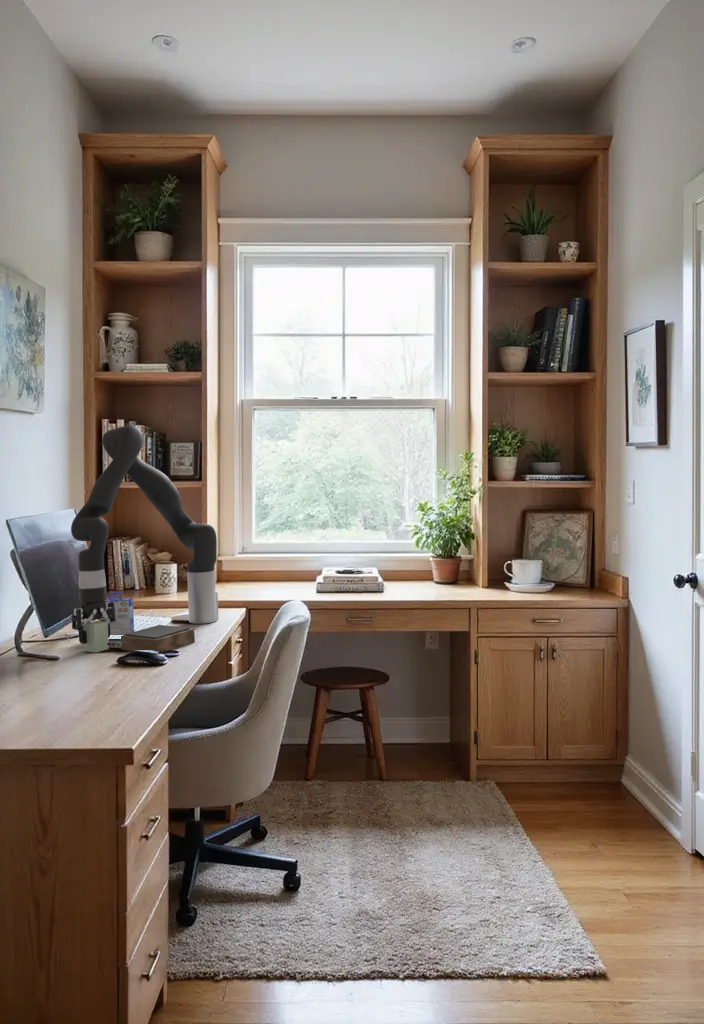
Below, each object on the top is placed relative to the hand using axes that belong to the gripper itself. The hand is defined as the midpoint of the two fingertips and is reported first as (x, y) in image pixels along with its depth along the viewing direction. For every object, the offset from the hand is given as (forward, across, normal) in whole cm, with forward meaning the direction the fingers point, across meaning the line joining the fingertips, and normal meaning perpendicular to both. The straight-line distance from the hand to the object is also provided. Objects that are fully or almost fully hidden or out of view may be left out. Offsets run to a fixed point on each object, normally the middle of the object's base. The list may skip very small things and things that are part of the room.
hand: (95, 640), depth 241 cm
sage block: (+3, 0, 0) cm, 3 cm away
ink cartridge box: (+3, -14, -6) cm, 16 cm away
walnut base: (+3, -11, +14) cm, 18 cm away
